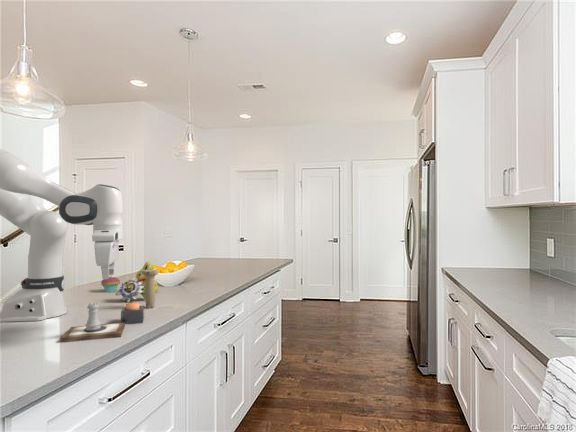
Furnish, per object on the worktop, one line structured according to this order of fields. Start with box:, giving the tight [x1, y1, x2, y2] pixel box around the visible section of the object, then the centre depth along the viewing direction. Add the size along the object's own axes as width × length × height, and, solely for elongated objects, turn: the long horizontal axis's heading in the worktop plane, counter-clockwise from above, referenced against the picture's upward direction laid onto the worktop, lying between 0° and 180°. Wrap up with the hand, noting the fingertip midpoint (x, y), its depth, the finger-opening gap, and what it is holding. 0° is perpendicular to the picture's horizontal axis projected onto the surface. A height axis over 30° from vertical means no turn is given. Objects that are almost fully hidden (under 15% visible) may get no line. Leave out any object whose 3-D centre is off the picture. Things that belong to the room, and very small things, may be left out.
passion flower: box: [115, 277, 145, 304], centre depth 167 cm, size 11×11×12 cm
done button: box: [125, 302, 140, 310], centre depth 132 cm, size 4×4×3 cm
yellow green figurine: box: [135, 261, 159, 293], centre depth 184 cm, size 7×11×15 cm, turn 86°
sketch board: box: [60, 322, 126, 343], centre depth 118 cm, size 16×12×2 cm
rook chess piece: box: [84, 302, 102, 331], centre depth 117 cm, size 4×4×8 cm
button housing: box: [120, 305, 145, 325], centre depth 132 cm, size 7×7×4 cm
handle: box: [142, 269, 159, 309], centre depth 153 cm, size 5×6×15 cm
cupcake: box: [100, 275, 121, 293], centre depth 187 cm, size 9×8×12 cm
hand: (108, 276), depth 123 cm, fingers open, 8 cm apart
